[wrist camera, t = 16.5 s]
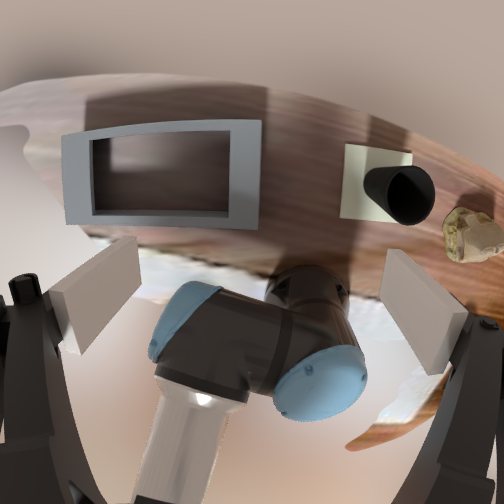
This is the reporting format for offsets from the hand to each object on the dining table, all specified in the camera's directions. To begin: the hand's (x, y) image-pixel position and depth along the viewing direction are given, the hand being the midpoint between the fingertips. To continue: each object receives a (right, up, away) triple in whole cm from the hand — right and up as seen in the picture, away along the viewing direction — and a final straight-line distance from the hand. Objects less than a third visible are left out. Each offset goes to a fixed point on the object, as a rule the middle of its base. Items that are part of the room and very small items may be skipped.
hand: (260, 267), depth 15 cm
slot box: (-15, +14, +31) cm, 37 cm away
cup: (+20, +12, +29) cm, 37 cm away
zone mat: (+20, +12, +29) cm, 37 cm away
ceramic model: (+42, +4, +31) cm, 52 cm away
